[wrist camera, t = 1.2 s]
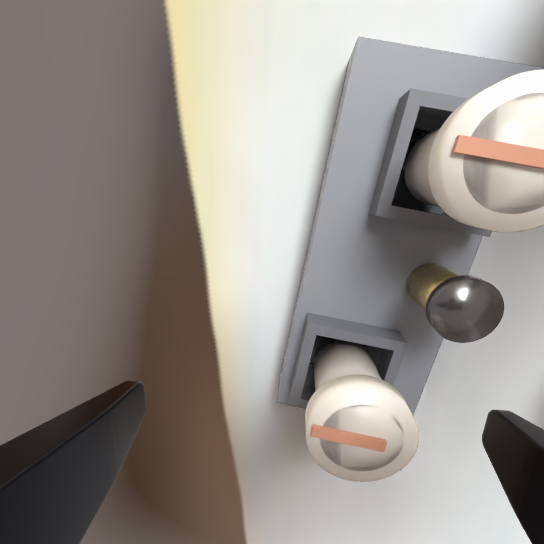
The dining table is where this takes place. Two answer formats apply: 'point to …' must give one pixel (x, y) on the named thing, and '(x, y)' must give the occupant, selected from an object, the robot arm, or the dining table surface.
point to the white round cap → (487, 158)
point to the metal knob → (456, 302)
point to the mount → (382, 217)
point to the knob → (357, 417)
